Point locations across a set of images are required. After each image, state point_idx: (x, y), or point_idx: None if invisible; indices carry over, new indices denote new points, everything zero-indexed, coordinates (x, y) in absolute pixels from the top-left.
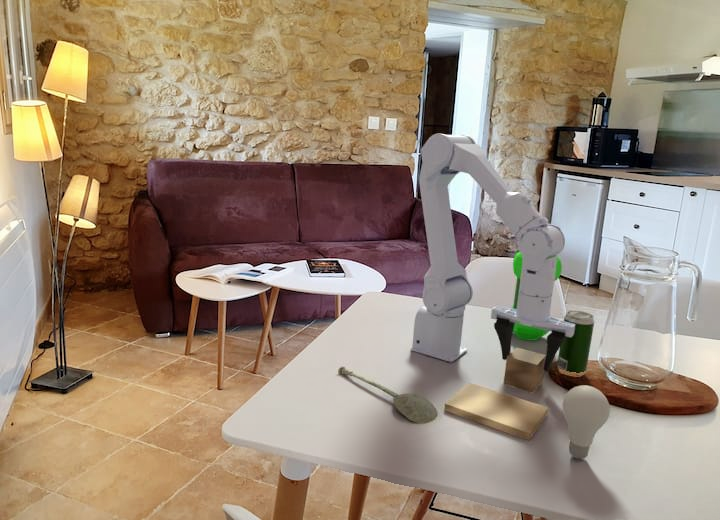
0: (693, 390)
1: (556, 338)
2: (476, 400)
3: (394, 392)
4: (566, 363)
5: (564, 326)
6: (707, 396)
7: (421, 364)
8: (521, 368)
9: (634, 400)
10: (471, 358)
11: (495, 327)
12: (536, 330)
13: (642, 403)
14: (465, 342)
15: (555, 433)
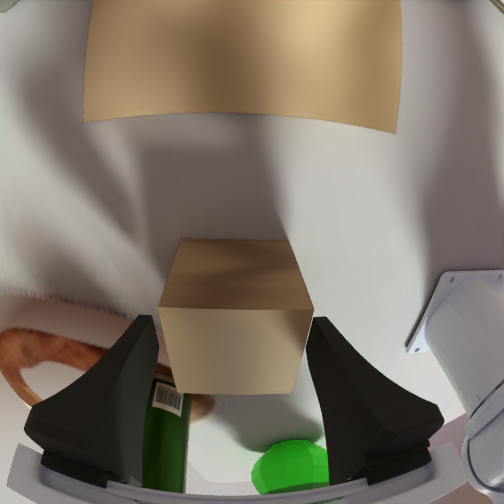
0: (25, 392)
1: (36, 433)
2: (328, 6)
3: (496, 1)
4: (156, 399)
5: (32, 496)
6: (10, 382)
7: (494, 217)
8: (232, 284)
9: (27, 334)
10: (395, 328)
11: (434, 408)
12: (273, 461)
13: (17, 329)
14: (404, 377)
15: (58, 38)
